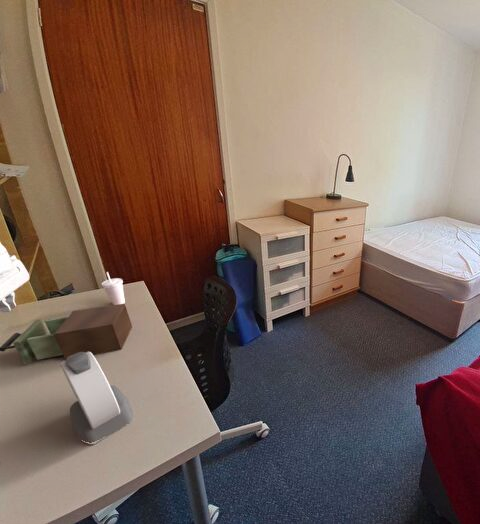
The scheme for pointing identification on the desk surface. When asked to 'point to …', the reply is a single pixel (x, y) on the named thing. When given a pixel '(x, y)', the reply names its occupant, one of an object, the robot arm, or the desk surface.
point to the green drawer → (36, 341)
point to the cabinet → (94, 330)
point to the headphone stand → (94, 399)
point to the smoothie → (114, 290)
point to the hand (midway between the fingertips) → (9, 309)
